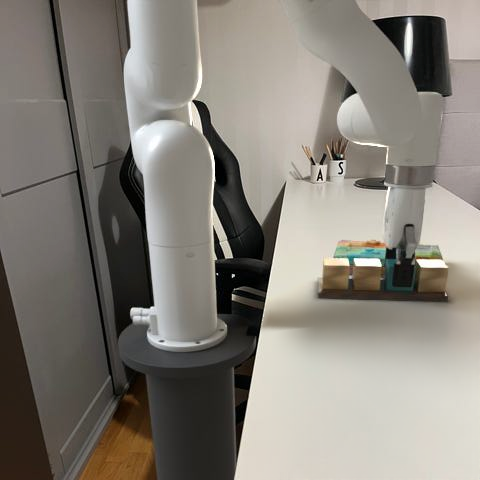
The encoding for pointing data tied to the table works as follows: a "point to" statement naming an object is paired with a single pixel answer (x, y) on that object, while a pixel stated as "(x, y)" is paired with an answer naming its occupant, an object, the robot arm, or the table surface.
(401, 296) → the walnut board
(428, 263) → the maple block
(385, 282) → the teal block
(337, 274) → the maple block
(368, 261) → the maple block
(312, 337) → the table surface
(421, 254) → the puzzle game
